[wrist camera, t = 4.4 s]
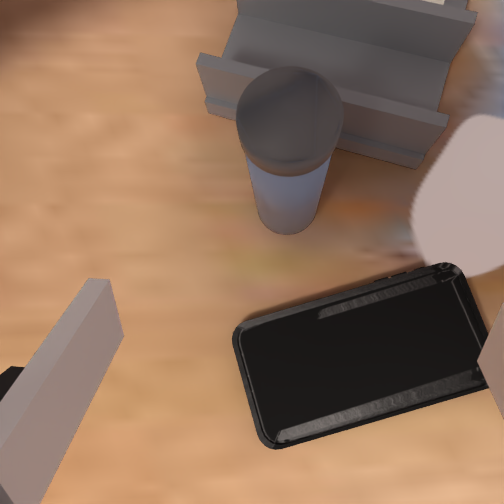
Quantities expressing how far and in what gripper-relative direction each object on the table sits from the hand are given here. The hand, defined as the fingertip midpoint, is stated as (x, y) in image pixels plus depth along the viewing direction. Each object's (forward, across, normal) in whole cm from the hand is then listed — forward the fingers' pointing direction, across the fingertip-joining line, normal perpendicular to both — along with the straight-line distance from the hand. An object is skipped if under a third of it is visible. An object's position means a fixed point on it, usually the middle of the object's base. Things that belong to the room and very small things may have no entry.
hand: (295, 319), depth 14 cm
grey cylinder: (+14, -1, -3) cm, 15 cm away
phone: (+8, +4, -10) cm, 14 cm away
